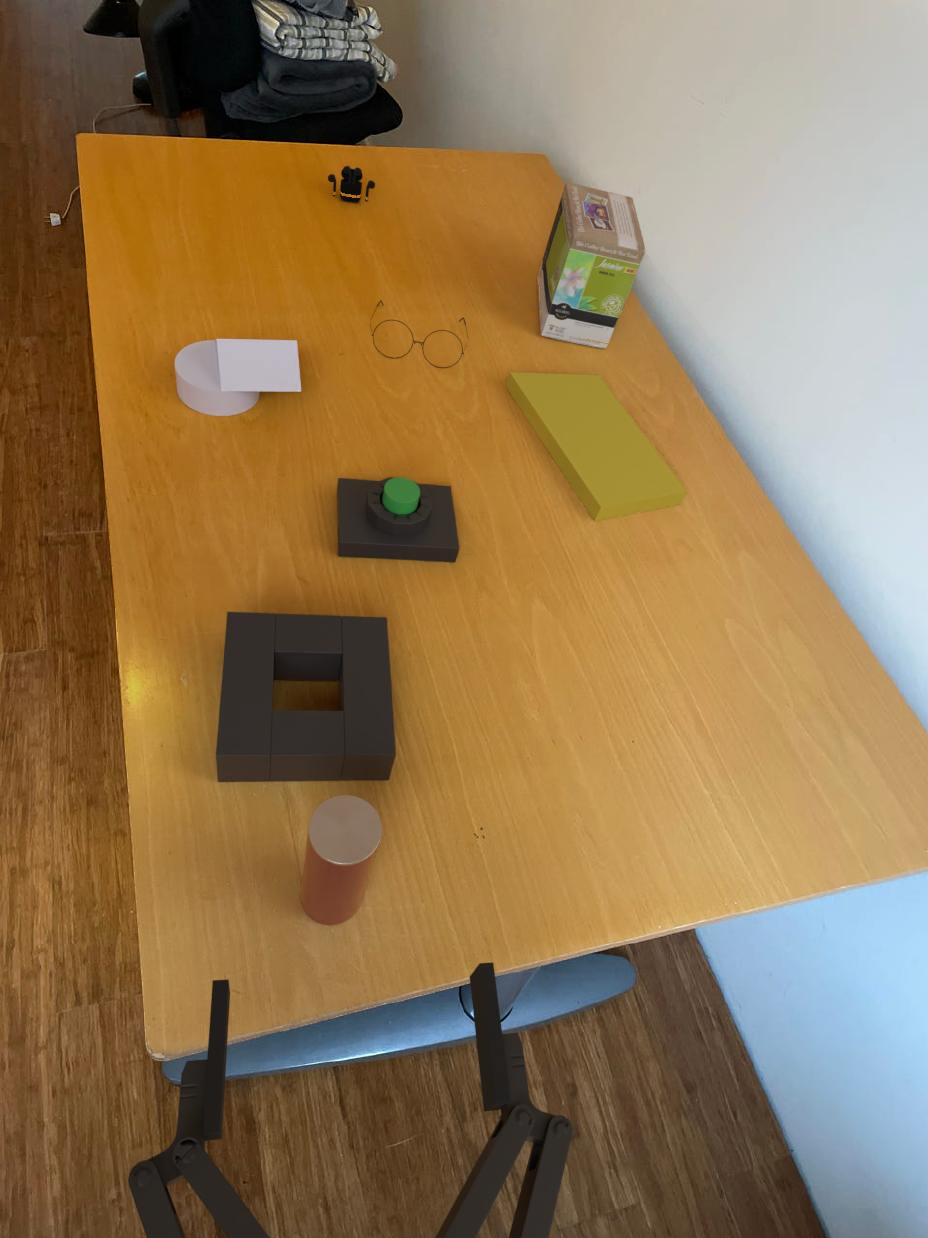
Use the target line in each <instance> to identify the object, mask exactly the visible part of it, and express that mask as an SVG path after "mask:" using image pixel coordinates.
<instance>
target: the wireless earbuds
mask: <svg viewBox="0 0 928 1238" xmlns="http://www.w3.org/2000/svg"><path fill="white" fill-rule="evenodd" d="M340 172H341V173H340V174H341V177H342V178H341V179H340V186H339V192H340V191H341V192H342V193H345V194H351V195H356V196H357V195H360V194H361V195H362V190H363V182H361V180H362V179H363V170H362V169H361V168H360V167H355V168H352V167H351V166H349V165H345V166H343V169H342V170H341V171H340ZM327 181H328V182H329V183H333V184H332V192H333V191H334V192H336V193H337V177H336V175H335V174H334V173H329V174H328V176H327ZM375 188H376V182H375V181H373V180H368V182H367V185H366V187H365V196H366V197H368V198H369V193H370V189H371V190H372V189H375ZM336 195H337V194H336ZM336 195H333V194H332V197H333V198H335V197H336ZM365 196H364V197H365ZM339 198H340V200H342V201H343V202H347V203H355V204H357V203H359V202H360V201H361V198H362V196H361V197H360V198H352V197H346V196H342V195H341V194H340V193H339ZM364 201H365V202H366V203H368V202H369V199H368V200H366V199H365V198H364Z"/></svg>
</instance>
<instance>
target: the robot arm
mask: <svg viewBox="0 0 928 1238" xmlns="http://www.w3.org/2000/svg"><path fill="white" fill-rule="evenodd" d="M469 984H470V985H469V986H470V993H471V1002H472V1011H473V1021H474V1022H473V1023H474V1031H475V1040H476V1049H477V1050H476V1051H477V1058H478V1059H477V1060H478V1067H479V1076H480V1087H481V1096H482V1105H483V1112H494V1111H499V1110H500V1115H499V1116H498V1119H499V1120H498V1121H497V1124H496V1126H495V1127H494V1129H493V1131H492V1133H491V1135H490V1137H489V1138H488V1140H487V1142H486V1143H485V1145H484V1147H483V1149H482V1151H481V1153H480V1155H479V1157H478V1158H477V1160H476V1162H475V1164H474V1166H473V1167H472V1169H471V1171H470V1173H469V1175H468V1177H467V1178H466V1180H465V1182H464V1184H463V1185H462V1188H461V1189H460V1191H459V1193H458V1195H457V1197H456V1199H455V1200H454V1202H453V1204H452V1206H451V1208H450V1210H449V1211H448V1213H447V1215H446V1217H445V1218H444V1220H443V1222H442V1223H441V1226H440V1228H439V1230H438V1232H437V1233H436V1235H435V1237H434V1238H477V1237H478V1234H479V1233H480V1230H481V1228H482V1226H483V1225H484V1223H485V1220H486V1219H487V1217H488V1215H489V1213H490V1211H491V1209H492V1208H493V1205H494V1204H495V1201H496V1200H497V1197H498V1195H499V1194H500V1191H501V1190H502V1188H503V1186H504V1184H505V1182H506V1180H507V1178H508V1177H509V1175H510V1172H511V1171H512V1168H513V1167H514V1164H515V1163H516V1161H517V1159H518V1157H519V1156H520V1153H521V1151H522V1149H523V1147H524V1146H525V1143H526V1142H528V1143H532V1144H531V1149H530V1153H529V1157H528V1160H527V1165H526V1169H525V1173H524V1176H523V1180H522V1184H521V1188H520V1191H519V1195H518V1200H517V1203H516V1207H515V1210H514V1211H515V1212H514V1215H513V1219H512V1222H511V1226H510V1231H509V1235H508V1238H549V1237H550V1234H551V1230H552V1229H551V1228H552V1225H553V1219H554V1215H555V1212H556V1207H557V1202H558V1198H559V1194H560V1191H561V1185H562V1181H563V1176H564V1172H565V1168H566V1164H567V1160H568V1155H569V1150H570V1146H571V1141H572V1138H573V1130H574V1129H573V1126H572V1123H571V1121H570V1119H569V1118H567V1117H566V1116H565V1115H562V1114H558V1115H555V1114H552V1113H548V1112H545V1111H542V1110H541V1109H538V1108H537V1107H536V1106H535V1105H534V1104H533V1102H532V1100H531V1096H530V1090H529V1082H528V1076H527V1069H526V1059H525V1054H524V1053H525V1052H524V1046H523V1045H524V1044H523V1042H522V1039H521V1038H520V1036H519V1034H518V1033H517V1032H511V1033H503V1029H502V1022H501V1013H500V1004H499V996H498V990H497V982H496V972H495V964H494V961H493V962H479V963H478V964H477V966H476V967H475V968H474V970H473V972H472V973H471V974H470V975H469ZM211 987H212V988H211V1001H210V1002H211V1003H210V1014H209V1028H208V1029H209V1030H208V1042H207V1043H208V1045H207V1058H206V1059H193V1060H186V1062H185V1065H184V1067H183V1069H182V1072H181V1077H180V1089H179V1100H178V1112H177V1121H176V1122H177V1123H176V1132H175V1137H174V1139H173V1141H172V1143H171V1144H170V1145H169V1147H168V1148H166V1149H164V1150H163V1151H162V1152H160V1153H157V1154H156V1155H153V1156H152V1157H149V1158H147V1159H146V1160H140V1161H139V1162H137V1163H136V1164H135V1165H134V1166H132V1168H131V1170H130V1172H129V1173H128V1178H127V1179H128V1180H127V1181H128V1187H129V1190H130V1193H131V1196H132V1199H133V1202H134V1205H135V1208H136V1210H137V1213H138V1216H139V1219H140V1222H141V1225H142V1228H143V1230H144V1233H145V1236H146V1238H187V1237H186V1234H185V1231H184V1228H183V1226H182V1223H181V1220H180V1218H179V1215H178V1212H177V1209H176V1207H175V1204H174V1201H173V1198H172V1196H171V1193H170V1190H169V1188H168V1187H169V1186H170V1185H173V1184H174V1183H177V1182H179V1181H180V1180H182V1179H184V1180H186V1182H187V1184H188V1185H189V1186H190V1188H191V1189H192V1190H193V1191H194V1193H195V1194H196V1196H197V1198H199V1200H200V1201H201V1204H203V1205H204V1207H205V1208H206V1210H207V1211H208V1213H209V1214H210V1215H211V1217H212V1218H213V1219H214V1221H215V1222H216V1224H217V1225H218V1227H219V1228H220V1230H222V1232H223V1233H224V1235H225V1236H226V1237H227V1238H270V1236H269V1235H268V1233H267V1232H266V1231H265V1229H264V1228H263V1227H262V1225H261V1224H260V1223H259V1221H258V1219H256V1218H255V1216H254V1214H253V1213H252V1212H251V1210H250V1209H249V1207H248V1206H247V1205H246V1204H245V1202H244V1201H243V1199H241V1197H240V1196H239V1194H238V1193H237V1192H236V1190H235V1189H234V1188H233V1186H232V1185H231V1184H230V1182H229V1180H228V1179H227V1177H225V1175H224V1174H223V1173H222V1171H221V1170H220V1168H219V1167H218V1166H217V1164H216V1163H215V1162H214V1160H213V1159H212V1158H211V1156H210V1155H209V1154H208V1152H207V1151H206V1142H208V1141H210V1142H211V1141H220V1140H222V1139H223V1122H224V1106H225V1090H226V1088H225V1087H226V1072H227V1053H228V1040H229V1039H228V1036H229V1021H230V1020H229V1018H230V1003H231V1000H230V999H231V987H230V980H229V979H228V978H227V979H215V980H214V979H213V980H212V986H211Z"/></svg>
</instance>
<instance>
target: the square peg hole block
mask: <svg viewBox="0 0 928 1238" xmlns="http://www.w3.org/2000/svg"><path fill="white" fill-rule="evenodd" d="M225 624H226V625H225V637H224V646H223V647H224V648H223V649H224V650H223V660H222V661H223V663H222V672H221V673H222V674H221V685H220V686H221V687H220V698H219V699H220V700H219V712H218V723H217V726H218V727H217V734H216V735H217V736H216V749H215V750H216V751H215V762H216V774H217V782H218V783H256V782H257V783H267V782H268V783H269V782H340V781H341V782H344V781H345V782H347V781H350V782H351V781H353V782H354V781H389V780H390V777H391V773H392V770H393V765H394V763H395V759H396V756H397V751H396V735H395V721H394V705H393V704H394V703H393V702H394V701H393V689H392V674H391V659H390V658H391V657H390V643H389V628H388V627H389V626H388V617H386V616H364V615H363V616H361V615H360V616H359V615H331V614H305V613H273V612H247V611H245V612H244V611H227V613H226V623H225ZM274 681H279V682H280V681H282V682H283V681H284V682H285V681H286V682H295V681H296V682H338V683H337V685H338V686H337V689H338V710H299V709H298V710H297V709H296V710H294V709H293V710H292V709H291V710H290V709H289V710H288V709H287V710H285V709H284V710H283V709H282V710H280V709H279V710H277V709H275V710H274V709H273V704H274Z"/></svg>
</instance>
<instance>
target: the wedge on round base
mask: <svg viewBox="0 0 928 1238" xmlns="http://www.w3.org/2000/svg"><path fill="white" fill-rule="evenodd" d="M298 347H299V346H298V340H297V339H296V340H295V339H292V340H291V339H256V338H255V339H249V338H247V339H246V338H215V339H211V340H202V341H201V340H200V341H197V342H193V343H190V344H188V345H186V346H185V347H183V348H181V350H180V351H178V353H177V354H176V356H175V358H174V373H175V374H174V375H175V384H176V392H177V396H178V398H179V399H180V401H181V402H182V403H183V404H184V405H186V407H188V408H189V409H191V410H193V411H196V412H197V413H200V414H203V415H208V416H213V417H229V416H235V415H240V414H242V413H245V412H247V411H249V410H250V409H252V408H253V407H254V406H255V405H256V404H257V403H258V401H259V398H260V396H261V392H277V393H278V392H279V393H280V392H281V393H283V392H287V393H288V392H289V393H290V392H293V393H294V392H298V393H301V392H302V384H301V371H300V360H299V348H298Z"/></svg>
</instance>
